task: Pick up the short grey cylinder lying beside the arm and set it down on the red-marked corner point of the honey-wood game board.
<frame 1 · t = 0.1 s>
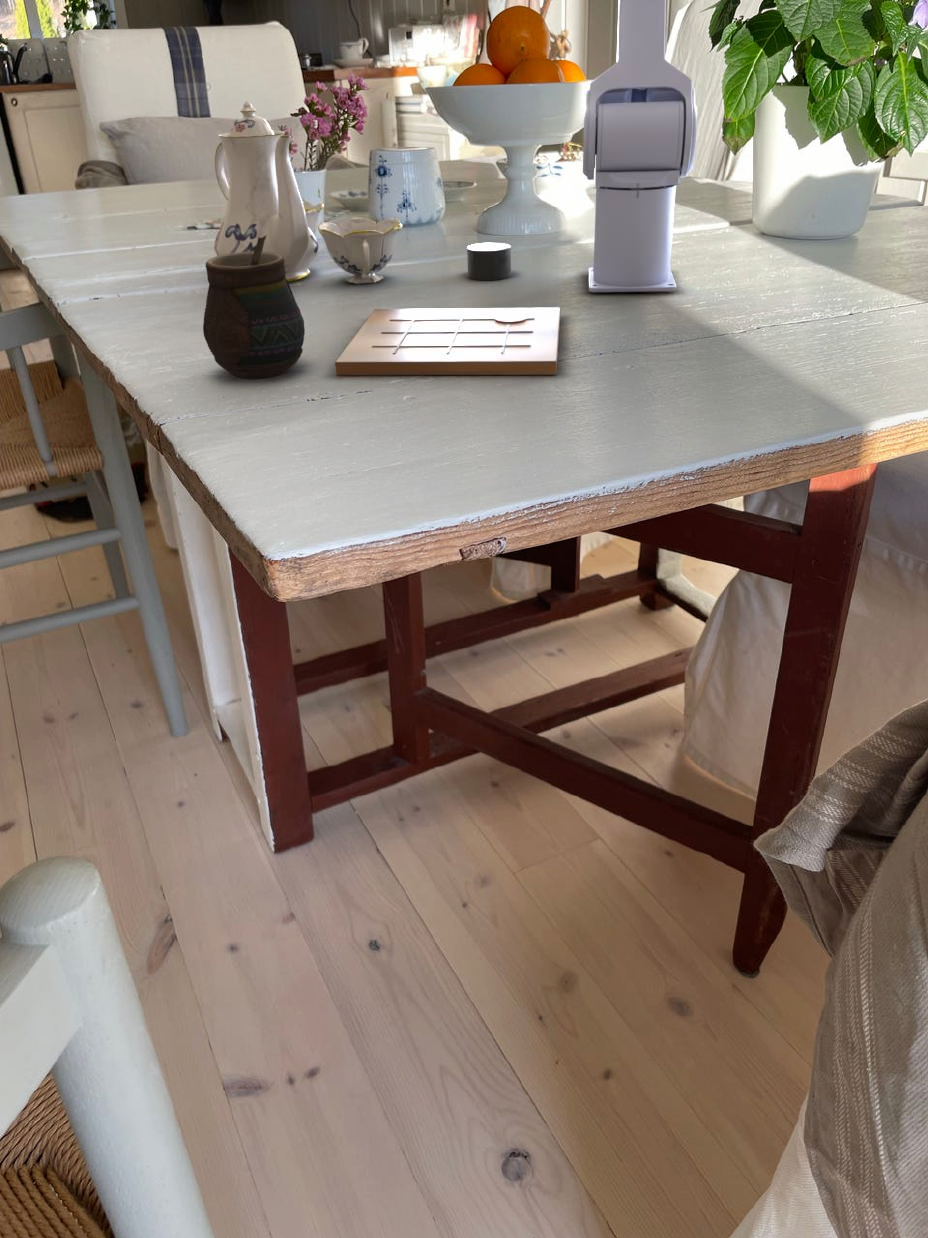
chinaware: (296, 273, 104), on the table
mate gourd: (263, 372, 73), on the table
board: (457, 345, 77), on the table
short grey cylinder: (489, 275, 99), on the table
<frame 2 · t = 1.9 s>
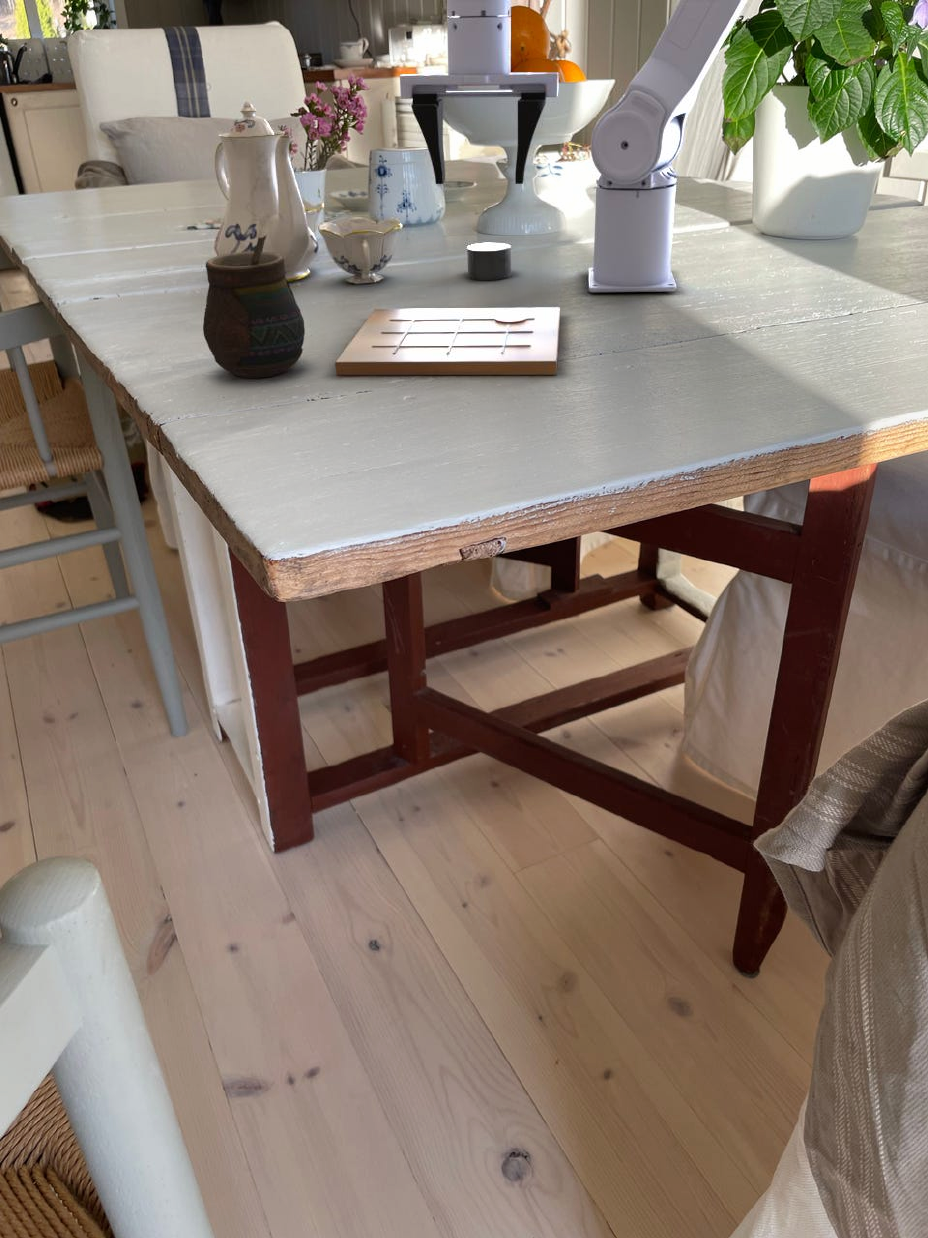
hand: (479, 182, 94), 9 cm above the table, tool pointing down, fingers open, 7 cm apart
nothing on the table moved.
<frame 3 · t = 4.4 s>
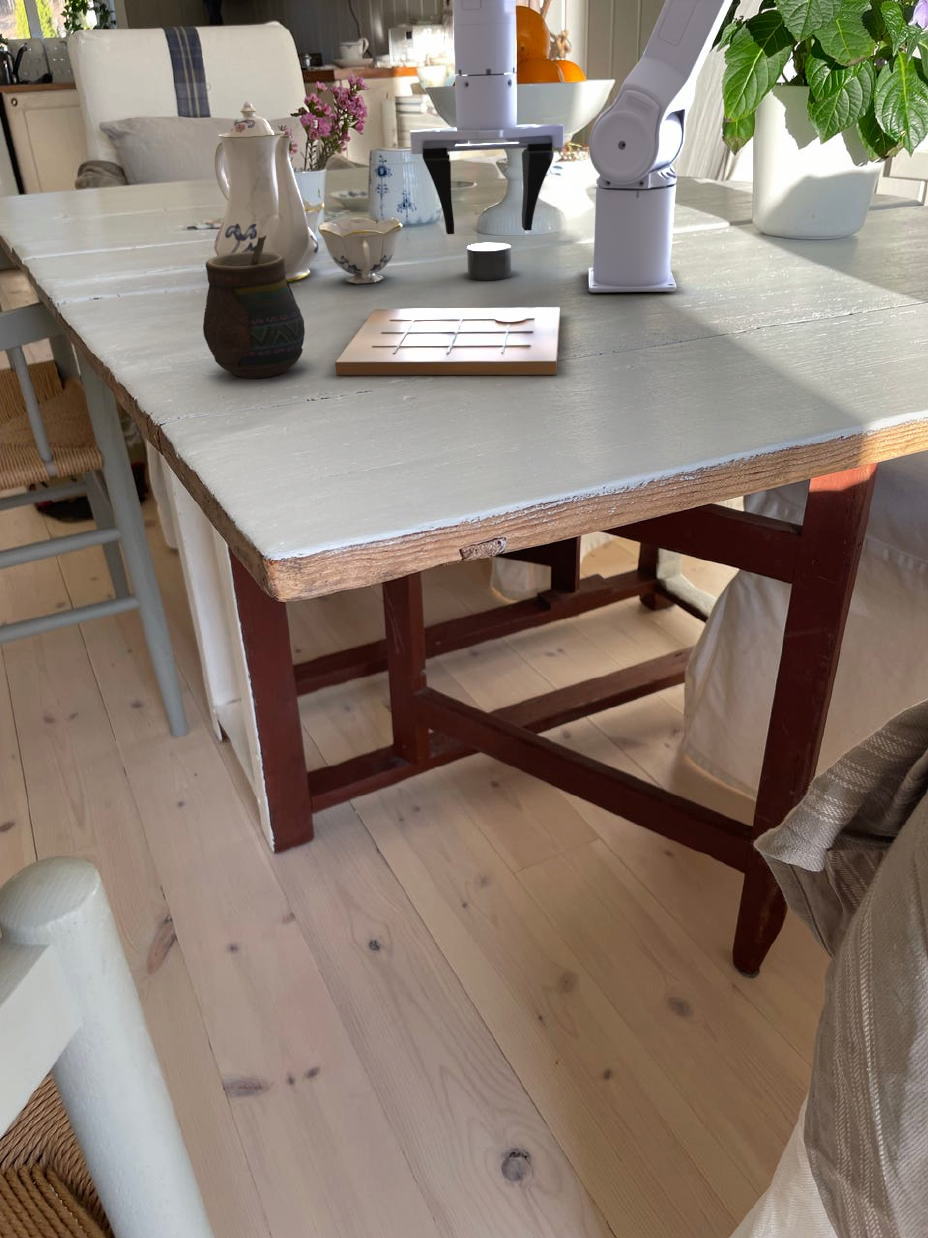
hand: (488, 230, 97), 4 cm above the table, tool pointing down, fingers open, 7 cm apart
nothing on the table moved.
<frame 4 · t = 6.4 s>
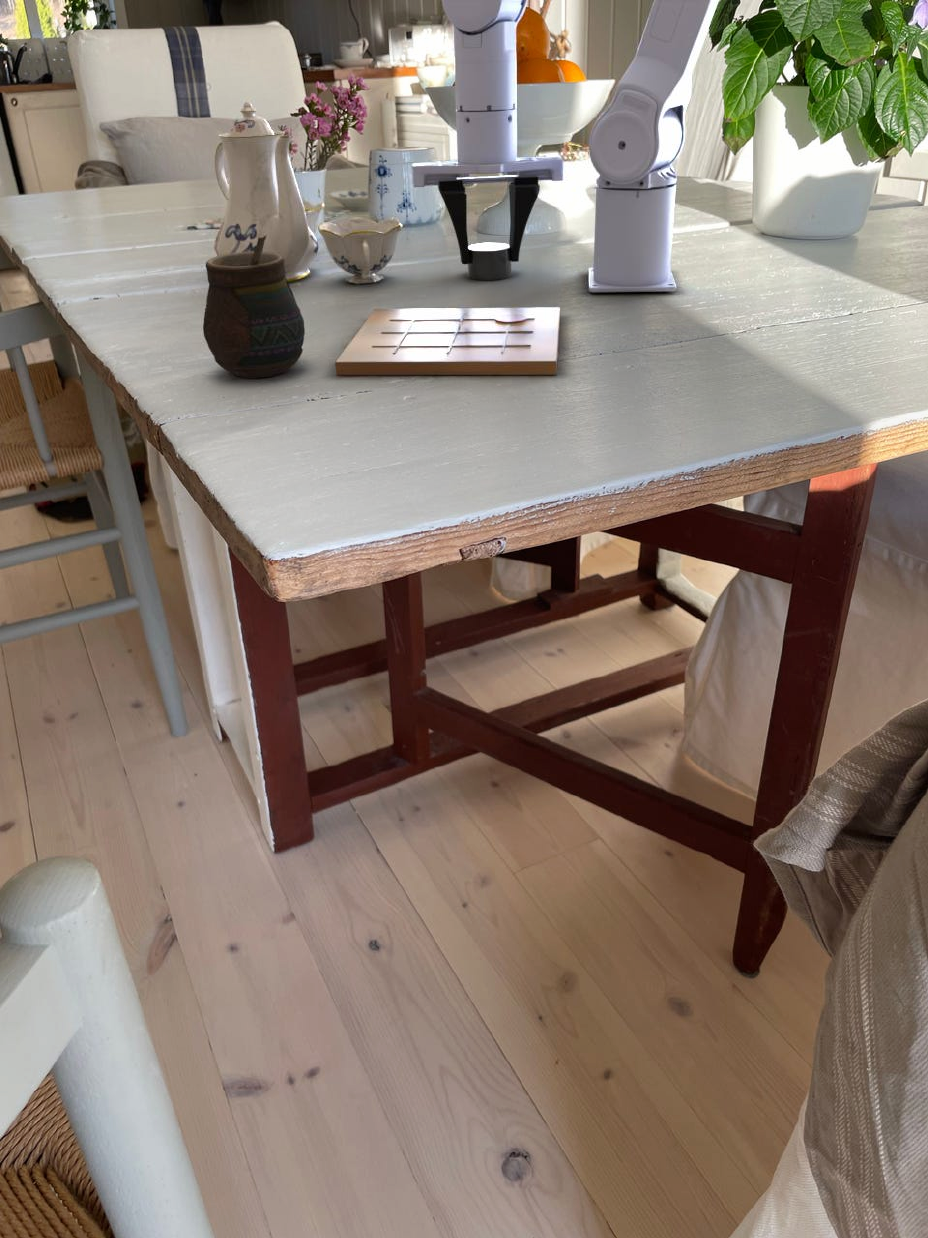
hand: (489, 261, 98), 1 cm above the table, tool pointing down, fingers closed on short grey cylinder, 4 cm apart
short grey cylinder: (489, 275, 99), on the table, touching gripper
everything else where it was.
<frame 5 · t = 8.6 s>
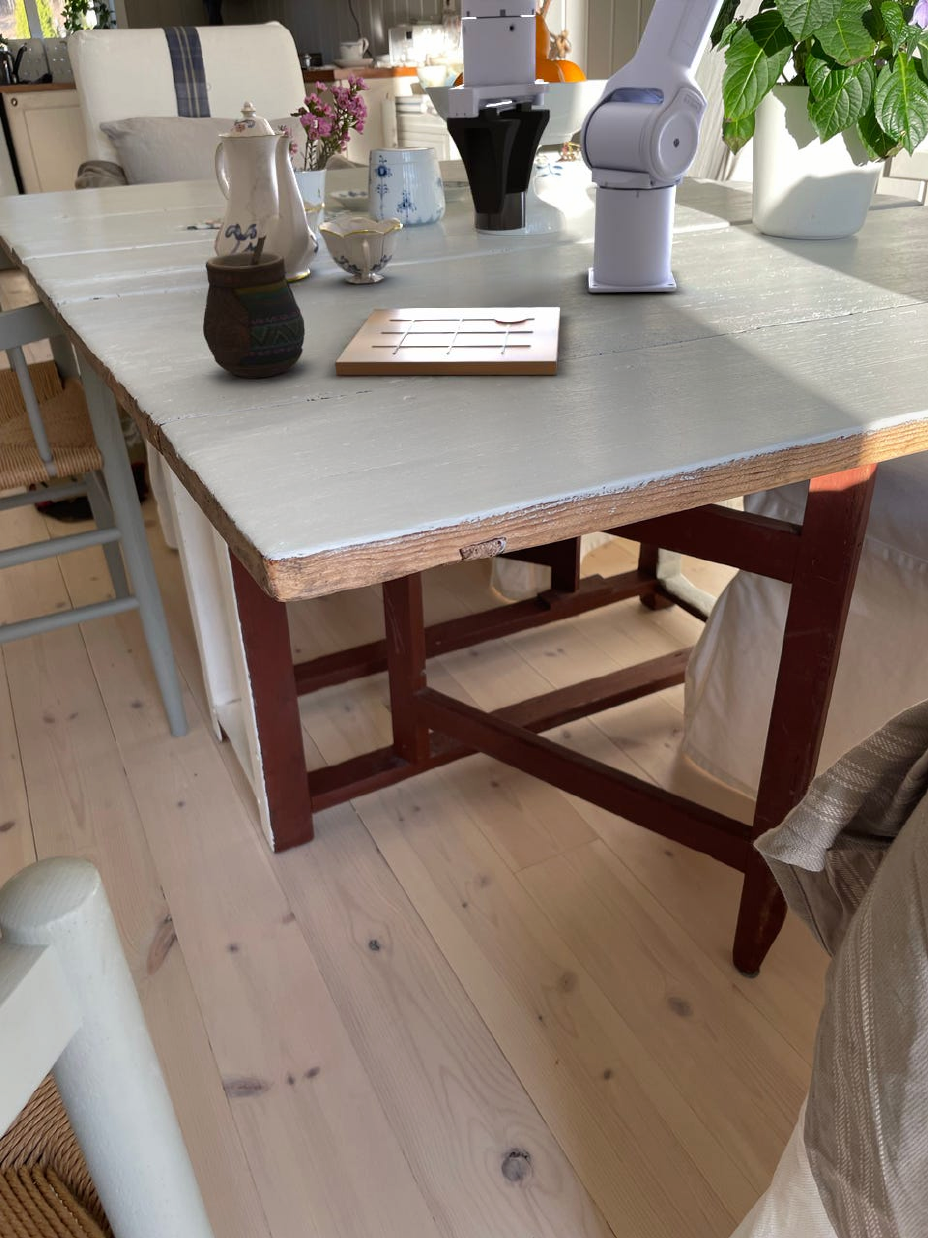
hand: (500, 208, 82), 8 cm above the table, tool pointing down, fingers closed on short grey cylinder, 4 cm apart
short grey cylinder: (500, 226, 82), point 7 cm above the table, touching gripper
everything else where it was.
when the fingers open (2 cm above the table, at t = 11.1 s): short grey cylinder stays where it is, resting on board.
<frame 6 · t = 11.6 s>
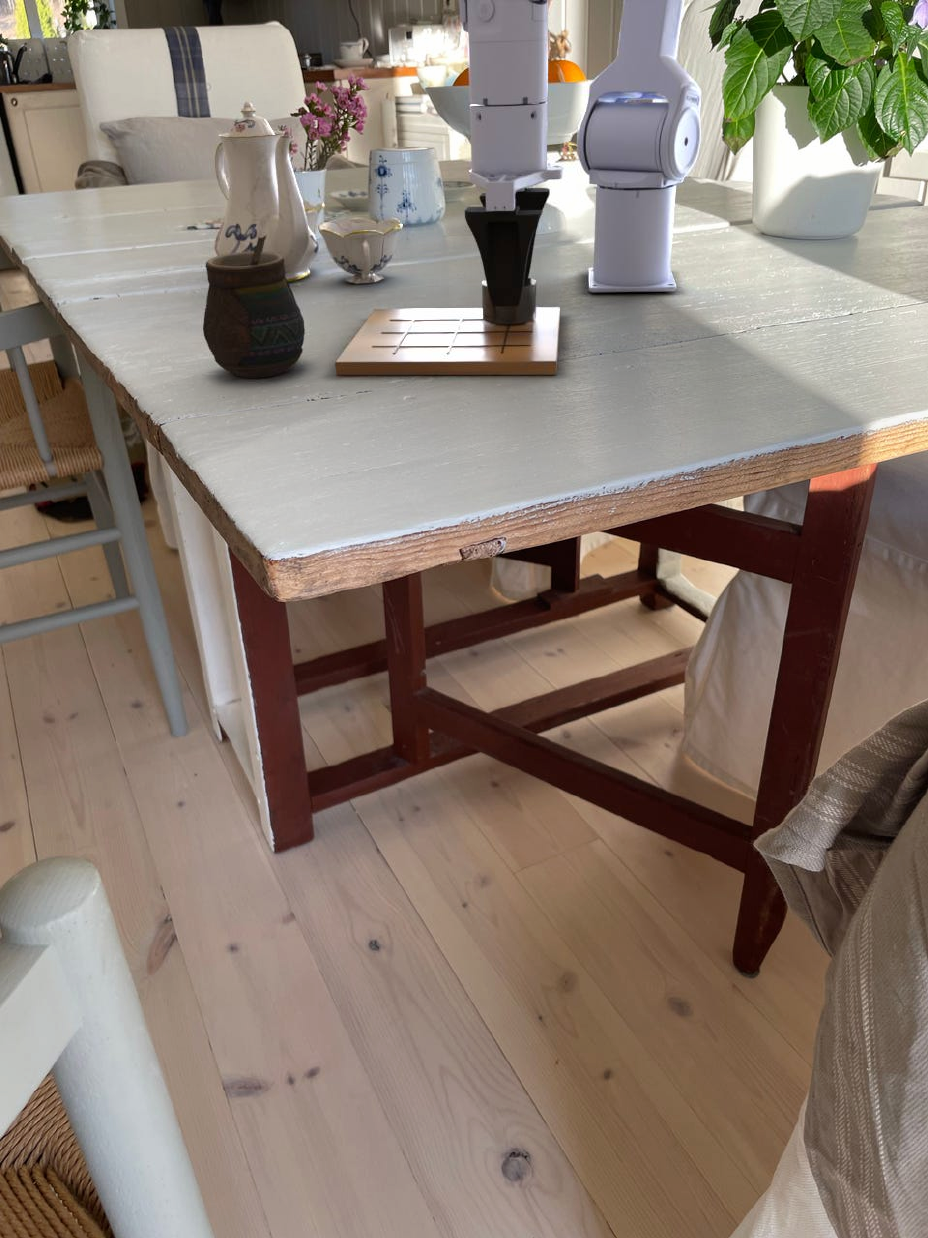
hand: (510, 294, 78), 3 cm above the table, tool pointing down, fingers open, 7 cm apart
short grey cylinder: (509, 317, 79), point 1 cm above the table, touching board
everything else where it was.
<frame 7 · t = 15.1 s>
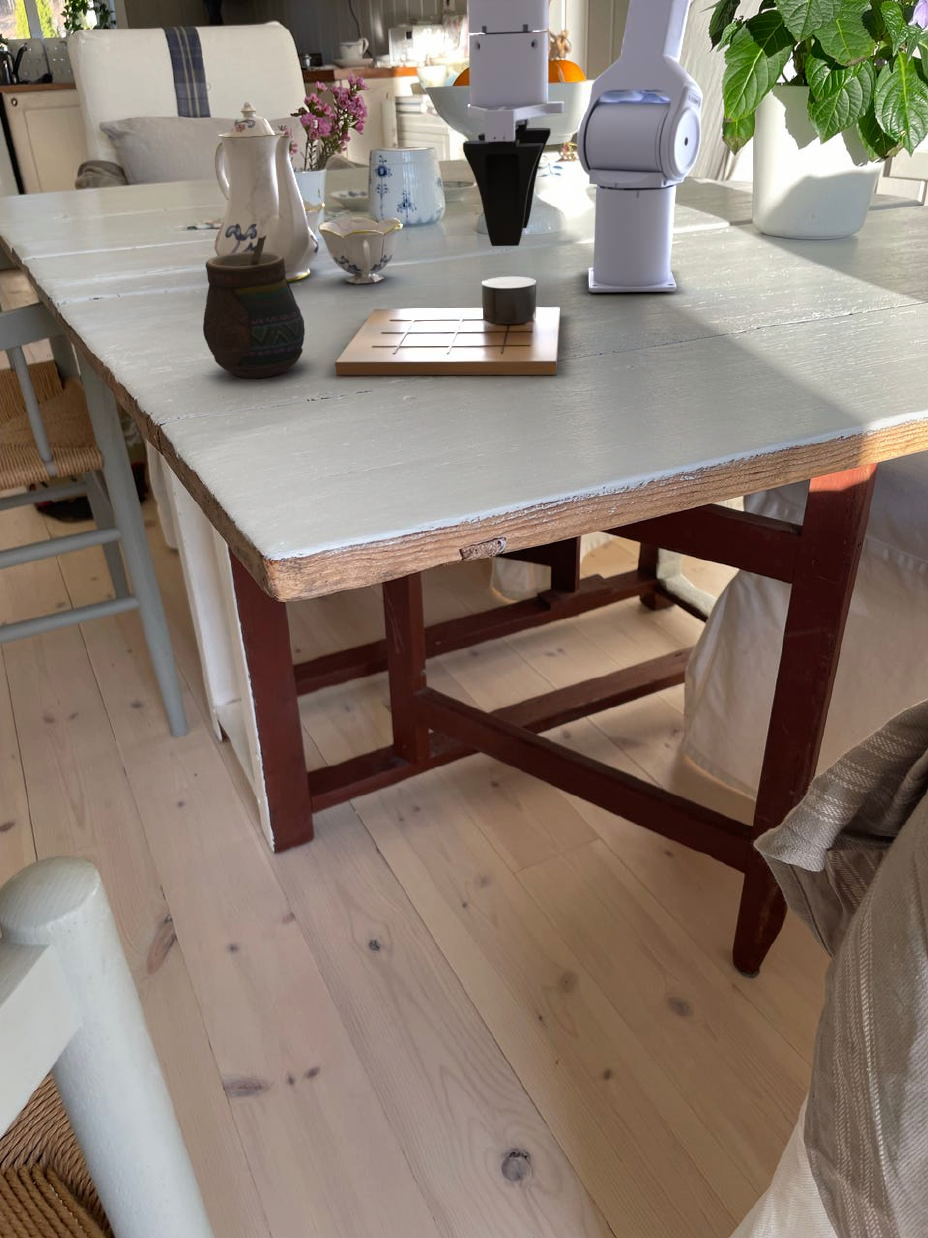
hand: (510, 236, 76), 7 cm above the table, tool pointing down, fingers open, 7 cm apart
nothing on the table moved.
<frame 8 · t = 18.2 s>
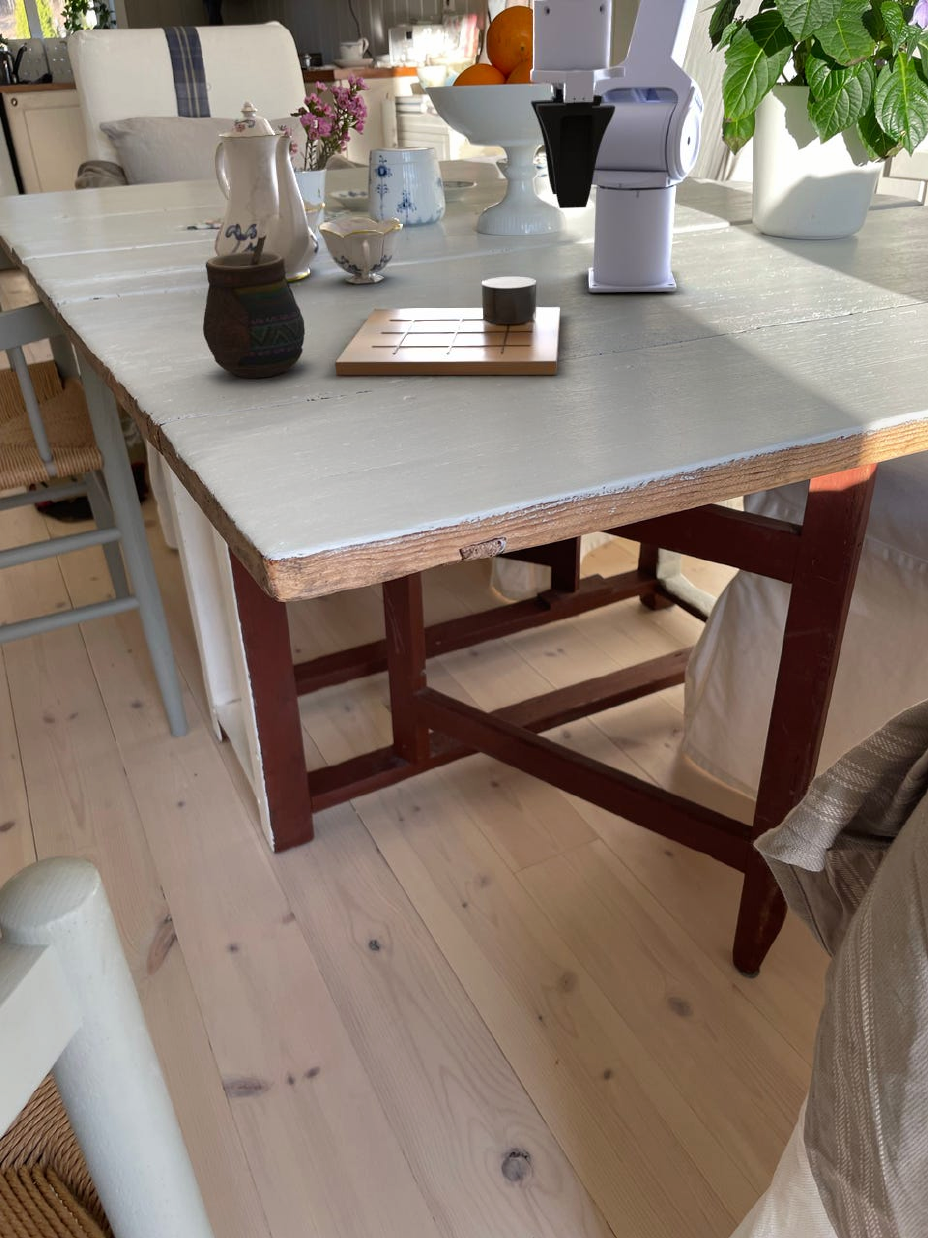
hand: (568, 199, 78), 9 cm above the table, tool pointing down, fingers open, 7 cm apart
nothing on the table moved.
at the end: short grey cylinder 0.1 cm from the target spot on the board, point 1.1 cm above the board's base; short grey cylinder tilted 0°; the gripper is holding nothing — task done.
